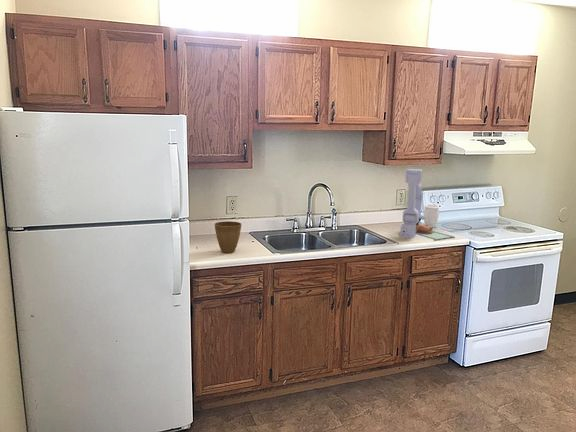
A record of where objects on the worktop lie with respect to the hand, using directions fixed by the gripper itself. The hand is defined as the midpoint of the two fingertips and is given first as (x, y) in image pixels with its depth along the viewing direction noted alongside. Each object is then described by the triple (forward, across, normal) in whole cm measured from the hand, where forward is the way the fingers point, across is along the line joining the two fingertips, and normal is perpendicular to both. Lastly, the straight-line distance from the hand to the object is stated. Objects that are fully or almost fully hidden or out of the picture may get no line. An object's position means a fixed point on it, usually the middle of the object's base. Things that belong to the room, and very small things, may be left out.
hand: (415, 228), depth 332 cm
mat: (+2, -12, 0) cm, 12 cm away
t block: (+1, -7, 0) cm, 8 cm away
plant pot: (+2, +9, +136) cm, 136 cm away
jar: (+2, +5, -20) cm, 21 cm away
